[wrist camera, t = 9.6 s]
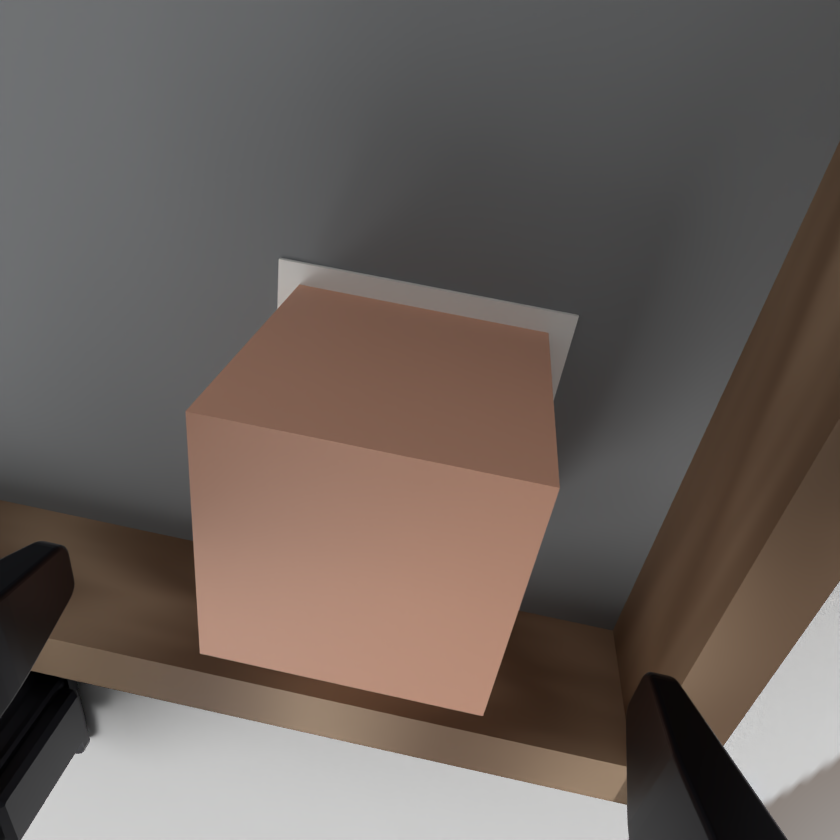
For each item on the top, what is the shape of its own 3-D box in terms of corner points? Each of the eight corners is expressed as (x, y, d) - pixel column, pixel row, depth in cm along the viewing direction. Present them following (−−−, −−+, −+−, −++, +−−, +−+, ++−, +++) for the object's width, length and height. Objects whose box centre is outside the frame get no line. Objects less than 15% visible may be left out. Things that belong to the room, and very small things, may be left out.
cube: (290, 481, 17) (199, 653, 12) (299, 284, 14) (185, 411, 9) (495, 524, 17) (482, 715, 12) (548, 332, 14) (559, 488, 9)
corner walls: (-119, 509, 20) (-250, 607, 17) (-537, -538, 9) (-1149, -866, 6) (647, 674, 19) (673, 815, 15) (1167, -292, 8) (1614, -517, 5)
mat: (-111, 503, 20) (-121, 511, 20) (-508, -523, 10) (-548, -545, 9) (646, 666, 19) (648, 677, 19) (1147, -281, 8) (1172, -295, 8)
